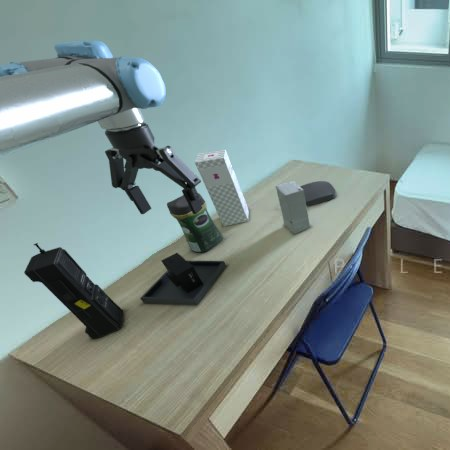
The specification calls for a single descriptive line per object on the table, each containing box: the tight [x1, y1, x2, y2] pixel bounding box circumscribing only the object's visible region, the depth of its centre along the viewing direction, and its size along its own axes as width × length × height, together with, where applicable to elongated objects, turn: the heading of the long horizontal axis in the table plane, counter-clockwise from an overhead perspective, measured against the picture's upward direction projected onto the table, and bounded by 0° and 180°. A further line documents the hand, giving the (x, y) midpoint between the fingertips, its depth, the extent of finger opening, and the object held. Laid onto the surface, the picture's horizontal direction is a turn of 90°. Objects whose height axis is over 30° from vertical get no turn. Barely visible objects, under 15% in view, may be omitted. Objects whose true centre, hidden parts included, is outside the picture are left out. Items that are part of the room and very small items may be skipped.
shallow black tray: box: [139, 259, 227, 306], centre depth 88 cm, size 15×15×2 cm
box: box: [194, 148, 250, 227], centre depth 109 cm, size 8×8×25 cm
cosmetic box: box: [275, 180, 311, 235], centre depth 106 cm, size 8×7×16 cm
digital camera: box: [161, 252, 203, 293], centre depth 86 cm, size 10×5×7 cm, turn 53°
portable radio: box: [24, 242, 124, 340], centre depth 70 cm, size 8×6×25 cm
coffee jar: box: [166, 192, 223, 253], centre depth 98 cm, size 10×8×19 cm
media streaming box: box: [299, 180, 337, 206], centre depth 128 cm, size 15×15×3 cm
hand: (172, 211), depth 77 cm, fingers open, 13 cm apart
